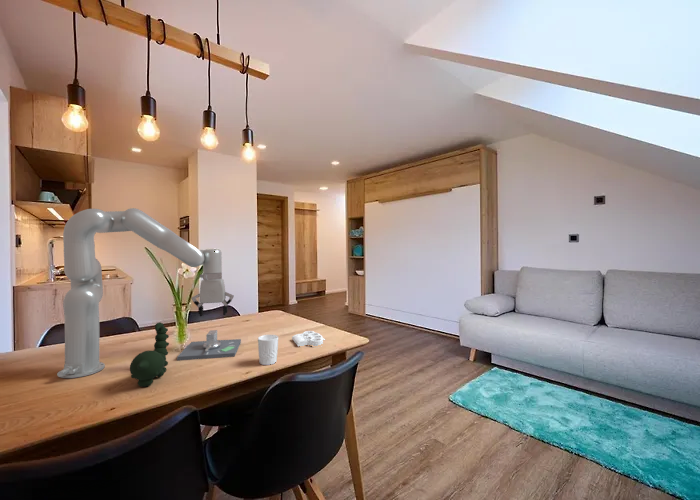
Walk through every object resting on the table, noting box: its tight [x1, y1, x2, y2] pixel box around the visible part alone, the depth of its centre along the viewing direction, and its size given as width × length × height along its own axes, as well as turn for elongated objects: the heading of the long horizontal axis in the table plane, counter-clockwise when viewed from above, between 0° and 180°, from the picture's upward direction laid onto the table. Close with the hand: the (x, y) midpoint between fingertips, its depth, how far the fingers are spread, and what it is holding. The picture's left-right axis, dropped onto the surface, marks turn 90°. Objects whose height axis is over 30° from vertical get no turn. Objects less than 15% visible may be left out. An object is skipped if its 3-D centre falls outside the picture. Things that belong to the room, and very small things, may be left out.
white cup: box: [257, 334, 279, 366], centre depth 121 cm, size 8×8×10 cm
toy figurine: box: [129, 321, 170, 388], centre depth 106 cm, size 9×19×25 cm
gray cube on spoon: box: [203, 329, 220, 351], centre depth 131 cm, size 7×14×6 cm, turn 13°
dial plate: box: [176, 338, 242, 361], centre depth 134 cm, size 20×22×2 cm
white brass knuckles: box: [291, 330, 326, 347], centre depth 148 cm, size 3×18×15 cm
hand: (213, 315), depth 134 cm, fingers open, 9 cm apart
